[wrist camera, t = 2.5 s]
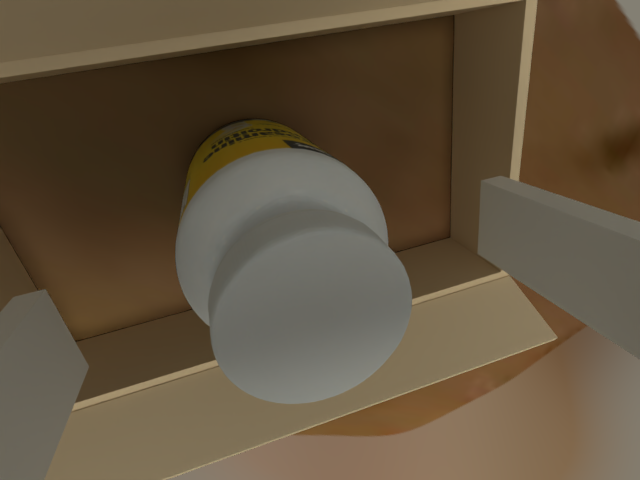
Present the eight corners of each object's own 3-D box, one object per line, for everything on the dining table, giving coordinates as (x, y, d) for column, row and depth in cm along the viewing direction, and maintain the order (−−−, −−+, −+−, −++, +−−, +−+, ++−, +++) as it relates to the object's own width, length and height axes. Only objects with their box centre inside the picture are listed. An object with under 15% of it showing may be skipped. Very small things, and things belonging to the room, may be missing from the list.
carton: (-134, 30, 13) (-534, -17, 6) (465, -42, 17) (644, -117, 10) (76, 377, 20) (12, 538, 13) (456, 264, 24) (556, 341, 17)
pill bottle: (339, 150, 19) (499, 244, 9) (287, 258, 21) (371, 443, 10) (214, 90, 16) (236, 125, 6) (166, 220, 18) (121, 418, 8)
